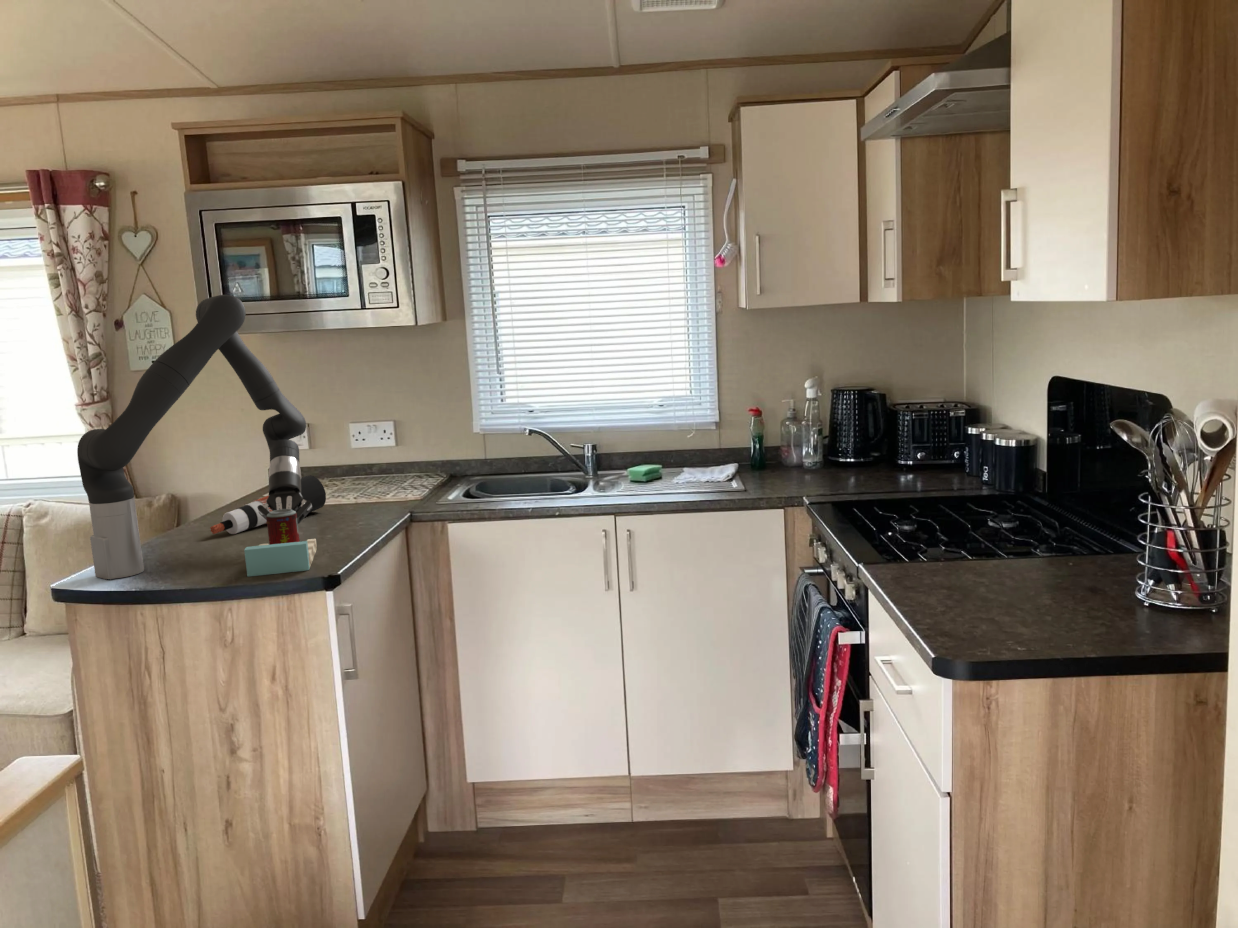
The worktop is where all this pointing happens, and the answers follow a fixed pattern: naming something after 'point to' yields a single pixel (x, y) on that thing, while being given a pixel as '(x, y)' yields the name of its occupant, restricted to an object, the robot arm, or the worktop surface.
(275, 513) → the soda can
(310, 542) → the guide rails
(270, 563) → the block
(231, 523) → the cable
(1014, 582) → the worktop surface
